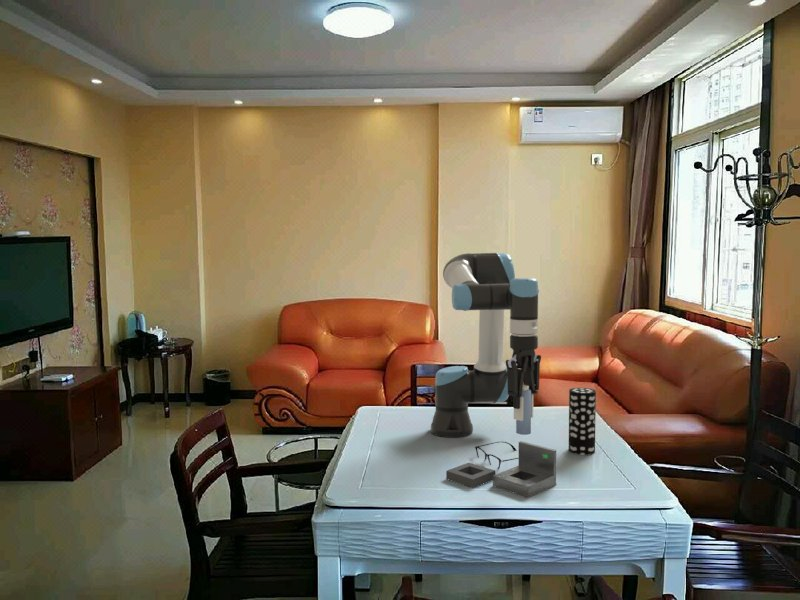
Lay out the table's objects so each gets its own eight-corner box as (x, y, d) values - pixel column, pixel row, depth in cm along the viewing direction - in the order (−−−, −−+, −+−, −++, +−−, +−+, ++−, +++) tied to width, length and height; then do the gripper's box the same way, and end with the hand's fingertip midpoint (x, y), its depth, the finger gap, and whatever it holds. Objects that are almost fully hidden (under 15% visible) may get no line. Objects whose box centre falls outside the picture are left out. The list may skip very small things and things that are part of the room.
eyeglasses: (472, 456, 213) (472, 444, 212) (513, 450, 219) (513, 438, 219) (500, 472, 198) (500, 459, 197) (544, 465, 204) (544, 452, 204)
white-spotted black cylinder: (596, 455, 211) (597, 393, 210) (569, 454, 213) (569, 393, 211) (593, 447, 219) (594, 388, 218) (567, 446, 221) (568, 387, 219)
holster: (446, 479, 192) (446, 470, 192) (468, 470, 199) (468, 462, 198) (473, 488, 185) (473, 479, 184) (495, 478, 191) (495, 470, 191)
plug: (513, 432, 184) (513, 385, 183) (521, 429, 187) (522, 383, 186) (525, 435, 181) (525, 387, 180) (533, 432, 184) (534, 385, 183)
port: (492, 486, 186) (492, 451, 185) (520, 474, 195) (521, 441, 194) (528, 497, 177) (528, 461, 176) (556, 484, 186) (556, 450, 185)
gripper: (516, 338, 173) (516, 426, 175) (553, 332, 185) (552, 414, 187) (493, 336, 179) (493, 421, 181) (530, 330, 191) (530, 410, 192)
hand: (523, 417), depth 184 cm, fingers closed on plug, 4 cm apart
